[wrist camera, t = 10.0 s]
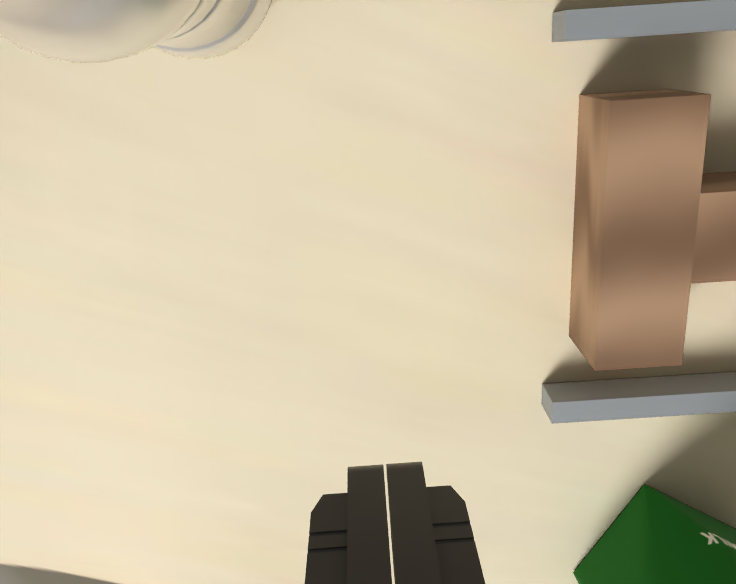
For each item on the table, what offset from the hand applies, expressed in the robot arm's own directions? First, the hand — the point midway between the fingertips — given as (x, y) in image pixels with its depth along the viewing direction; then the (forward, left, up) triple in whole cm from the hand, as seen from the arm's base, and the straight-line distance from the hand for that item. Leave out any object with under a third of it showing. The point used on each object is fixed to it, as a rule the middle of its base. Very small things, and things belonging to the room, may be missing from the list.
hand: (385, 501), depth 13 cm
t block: (0, +16, -20) cm, 26 cm away
